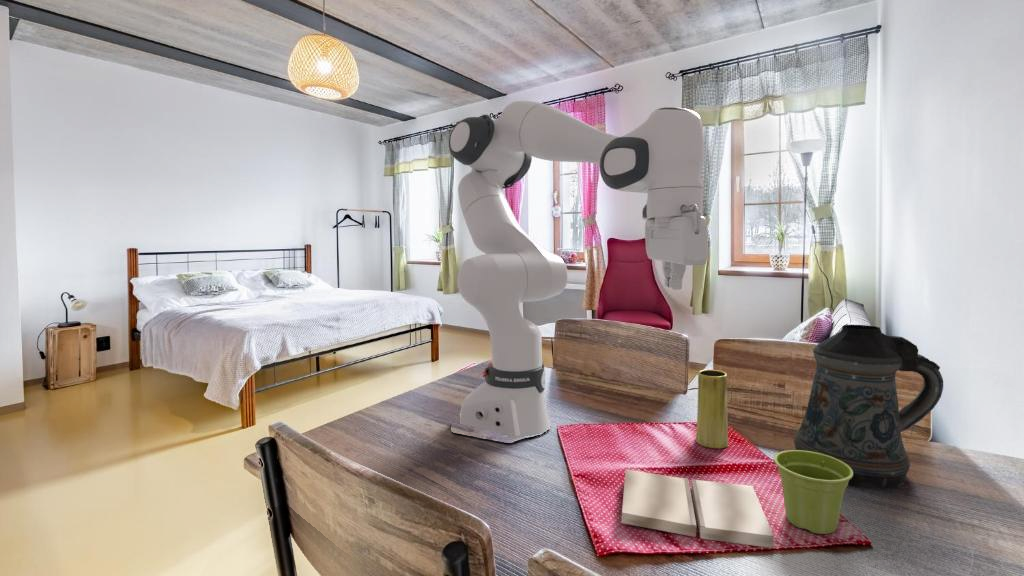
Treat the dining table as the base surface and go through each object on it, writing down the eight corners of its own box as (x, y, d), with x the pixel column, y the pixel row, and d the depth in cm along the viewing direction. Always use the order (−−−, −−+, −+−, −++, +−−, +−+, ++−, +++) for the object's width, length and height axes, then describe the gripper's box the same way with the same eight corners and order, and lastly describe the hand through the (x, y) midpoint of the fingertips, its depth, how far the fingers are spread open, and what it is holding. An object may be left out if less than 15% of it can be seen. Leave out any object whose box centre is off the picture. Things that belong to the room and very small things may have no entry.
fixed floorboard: (700, 538, 64) (700, 525, 64) (691, 489, 76) (691, 478, 76) (773, 548, 62) (773, 535, 61) (752, 495, 74) (752, 485, 74)
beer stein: (773, 449, 90) (776, 321, 87) (867, 441, 92) (872, 316, 89) (842, 495, 73) (848, 339, 71) (954, 485, 75) (963, 332, 73)
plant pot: (759, 506, 71) (760, 451, 70) (817, 501, 72) (819, 447, 71) (802, 545, 62) (803, 483, 61) (868, 539, 63) (871, 478, 62)
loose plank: (621, 522, 67) (621, 511, 67) (625, 478, 79) (625, 468, 79) (695, 536, 64) (696, 525, 64) (687, 488, 77) (688, 478, 76)
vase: (732, 450, 90) (733, 377, 89) (698, 448, 91) (699, 377, 90) (724, 436, 96) (725, 369, 95) (692, 435, 97) (693, 368, 96)
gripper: (720, 202, 68) (718, 296, 70) (672, 209, 89) (671, 282, 90) (677, 203, 68) (676, 297, 70) (639, 210, 89) (638, 282, 90)
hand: (673, 288), depth 80 cm, fingers closed
